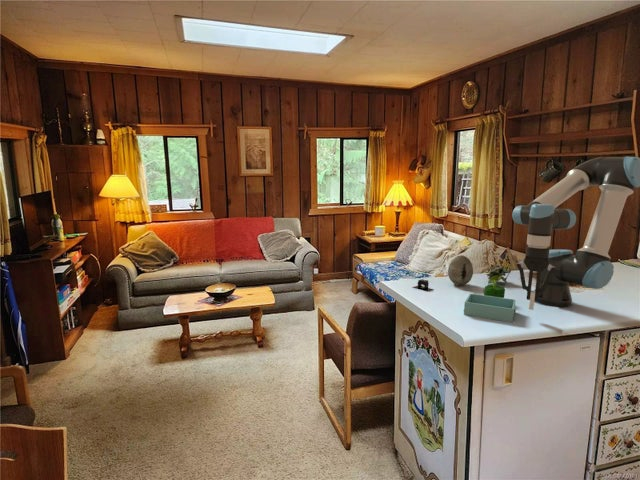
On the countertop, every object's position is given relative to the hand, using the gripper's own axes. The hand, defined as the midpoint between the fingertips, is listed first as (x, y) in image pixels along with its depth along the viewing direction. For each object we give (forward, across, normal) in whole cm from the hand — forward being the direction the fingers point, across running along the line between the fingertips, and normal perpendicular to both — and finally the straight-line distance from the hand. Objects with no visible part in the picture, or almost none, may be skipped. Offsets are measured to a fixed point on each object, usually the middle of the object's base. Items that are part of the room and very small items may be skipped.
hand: (531, 308), depth 154 cm
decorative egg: (+6, +32, -41) cm, 52 cm away
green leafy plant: (+5, +15, -54) cm, 56 cm away
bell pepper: (+6, +14, -17) cm, 23 cm away
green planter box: (+5, +14, 0) cm, 15 cm away
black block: (+6, +47, -26) cm, 54 cm away
